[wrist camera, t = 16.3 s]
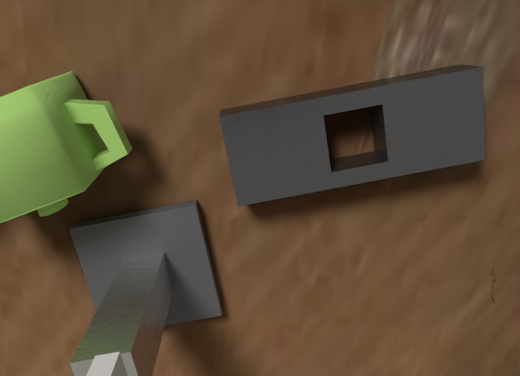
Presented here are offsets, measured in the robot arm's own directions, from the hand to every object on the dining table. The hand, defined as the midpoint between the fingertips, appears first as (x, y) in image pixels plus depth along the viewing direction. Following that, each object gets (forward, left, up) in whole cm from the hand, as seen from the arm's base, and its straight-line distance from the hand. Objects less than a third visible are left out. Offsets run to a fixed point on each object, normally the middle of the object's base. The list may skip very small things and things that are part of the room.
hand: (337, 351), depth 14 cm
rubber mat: (+10, -14, -31) cm, 35 cm away
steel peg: (+10, -14, -29) cm, 34 cm away
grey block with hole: (0, +7, -31) cm, 31 cm away
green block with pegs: (-4, -21, -31) cm, 37 cm away
